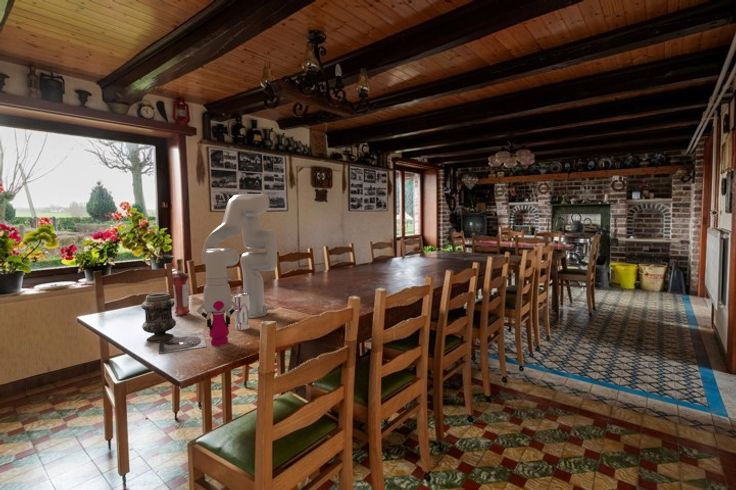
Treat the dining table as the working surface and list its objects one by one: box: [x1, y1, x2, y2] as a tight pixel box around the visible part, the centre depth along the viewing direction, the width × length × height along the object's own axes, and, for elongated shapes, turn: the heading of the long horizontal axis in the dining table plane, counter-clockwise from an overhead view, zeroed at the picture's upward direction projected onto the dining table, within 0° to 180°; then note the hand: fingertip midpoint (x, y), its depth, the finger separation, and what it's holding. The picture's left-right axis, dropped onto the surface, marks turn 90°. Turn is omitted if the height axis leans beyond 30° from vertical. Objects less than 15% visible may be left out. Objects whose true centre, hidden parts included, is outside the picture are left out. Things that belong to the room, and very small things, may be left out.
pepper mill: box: [208, 301, 230, 347], centre depth 151 cm, size 7×7×20 cm
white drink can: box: [232, 292, 250, 331], centre depth 170 cm, size 7×7×15 cm
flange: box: [158, 334, 207, 355], centre depth 151 cm, size 16×16×1 cm
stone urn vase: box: [141, 292, 177, 343], centre depth 157 cm, size 12×12×18 cm
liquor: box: [171, 258, 191, 317], centre depth 193 cm, size 7×7×28 cm
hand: (218, 327), depth 151 cm, fingers open, 5 cm apart
